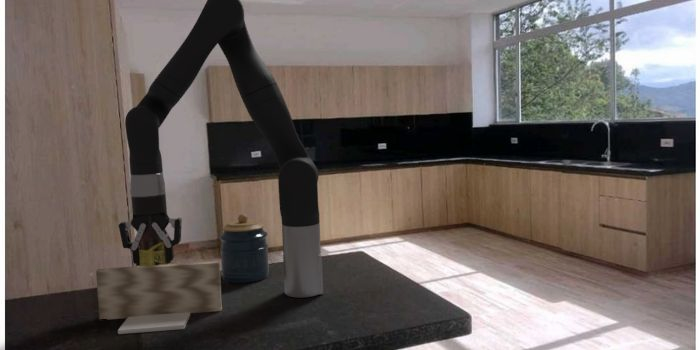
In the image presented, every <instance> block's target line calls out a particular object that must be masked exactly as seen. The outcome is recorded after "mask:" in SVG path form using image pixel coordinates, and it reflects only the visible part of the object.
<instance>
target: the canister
mask: <svg viewBox="0 0 700 350" xmlns="http://www.w3.org/2000/svg"><path fill="white" fill-rule="evenodd" d="M264 227H265V224H263V223H261V222H260V221H259V220H255V219H248V215H247V214H246V213H241V214H239V215H238V217H237V220H233V221H229V222H227V223H226V224H225V225H223V226H222V229H221V230H222V231H223V233H221V234H220V236H219V239H220V240H221V247H220V259H221V269H220V276H221V277H222V280H223V281H225V282H226V283H227V282H228V283H232V284H233V283H234V284H246V283H253V282H258V281H261V280H265V279H266V278H267V277H269V272H270V266H269V251H268V249H269V248H268V247H269V244H268V243H267V239H266V238H267V236H268V232H266V231H265V230H264V229H263V228H264Z"/></svg>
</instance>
